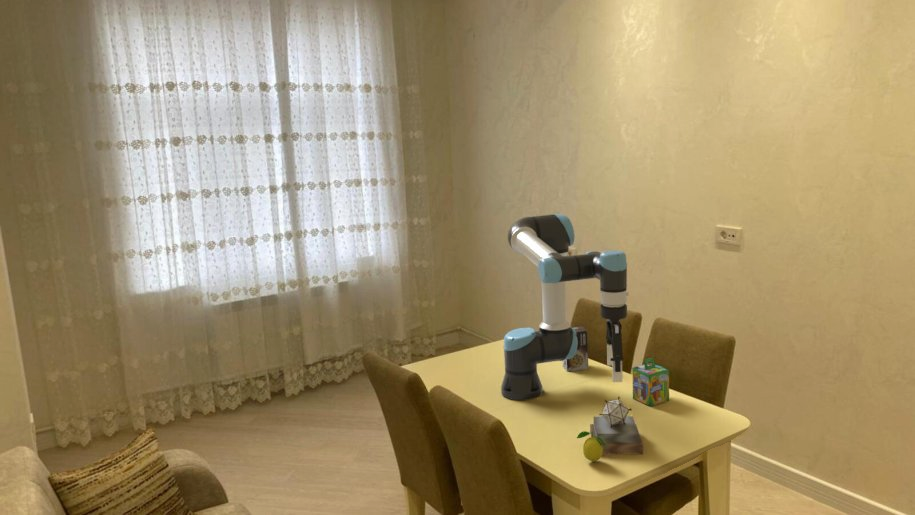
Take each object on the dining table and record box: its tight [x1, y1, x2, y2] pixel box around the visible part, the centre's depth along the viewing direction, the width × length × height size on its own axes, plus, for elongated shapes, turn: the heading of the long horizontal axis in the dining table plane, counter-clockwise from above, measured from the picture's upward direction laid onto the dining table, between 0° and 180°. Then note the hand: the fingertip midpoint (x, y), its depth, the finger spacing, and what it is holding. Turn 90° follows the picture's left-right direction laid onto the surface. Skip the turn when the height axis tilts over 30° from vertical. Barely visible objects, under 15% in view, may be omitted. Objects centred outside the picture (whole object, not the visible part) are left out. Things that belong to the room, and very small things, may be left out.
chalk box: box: [631, 357, 670, 407], centre depth 232 cm, size 9×9×15 cm
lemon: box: [576, 429, 607, 463], centre depth 191 cm, size 7×6×10 cm
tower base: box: [589, 415, 644, 455], centre depth 202 cm, size 14×14×6 cm
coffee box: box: [561, 325, 589, 372], centre depth 267 cm, size 9×6×16 cm
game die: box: [598, 396, 633, 428], centre depth 201 cm, size 9×8×10 cm
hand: (614, 373), depth 199 cm, fingers open, 13 cm apart
